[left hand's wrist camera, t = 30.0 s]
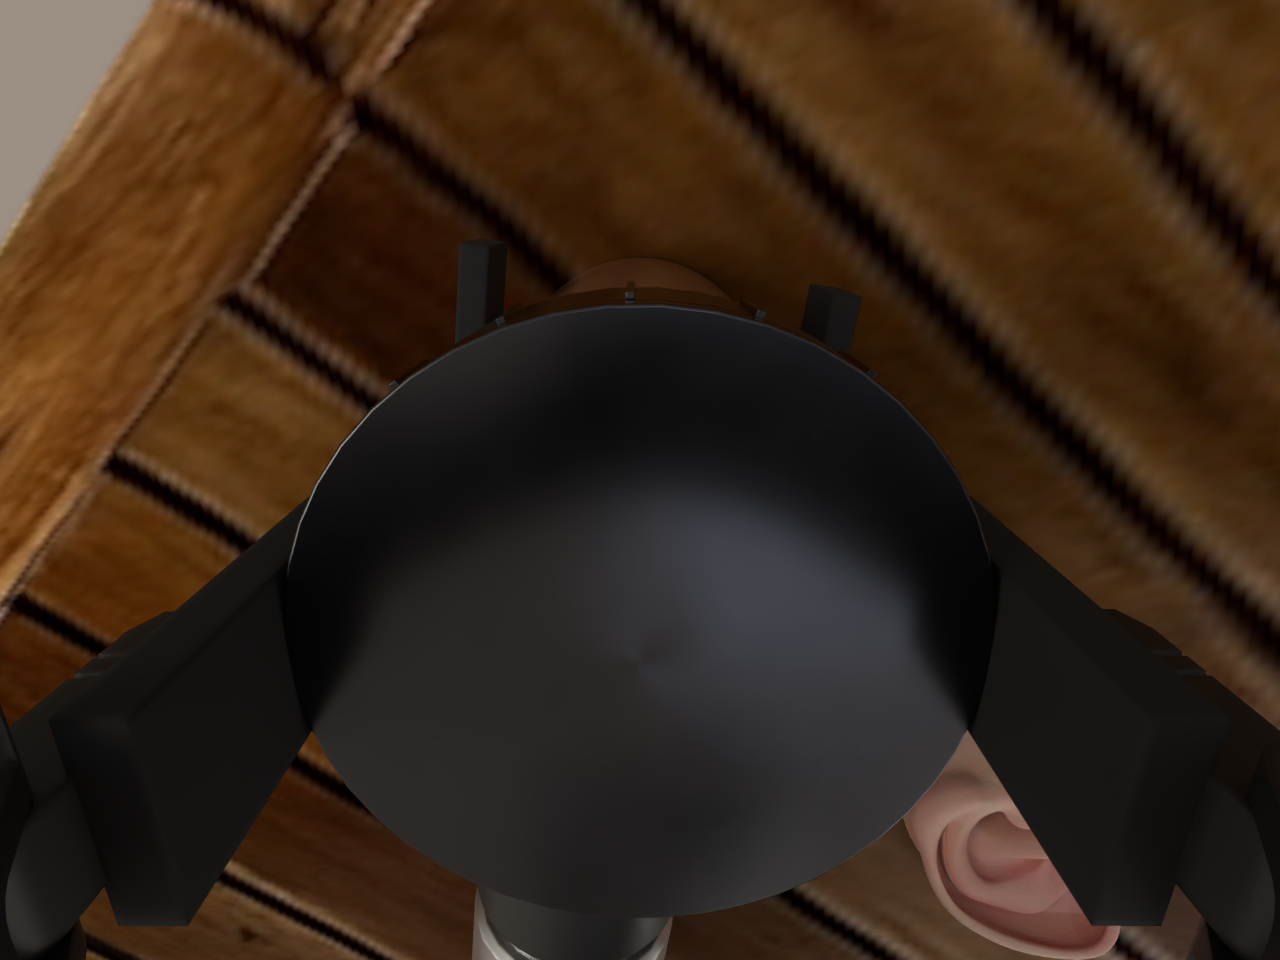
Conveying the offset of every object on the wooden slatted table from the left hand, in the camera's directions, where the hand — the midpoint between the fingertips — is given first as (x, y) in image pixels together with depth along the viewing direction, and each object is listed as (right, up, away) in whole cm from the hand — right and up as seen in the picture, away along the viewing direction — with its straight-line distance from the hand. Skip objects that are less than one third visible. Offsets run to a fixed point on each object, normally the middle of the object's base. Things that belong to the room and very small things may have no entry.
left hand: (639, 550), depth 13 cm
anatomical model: (+17, -13, +21) cm, 30 cm away
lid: (0, -1, -3) cm, 3 cm away
